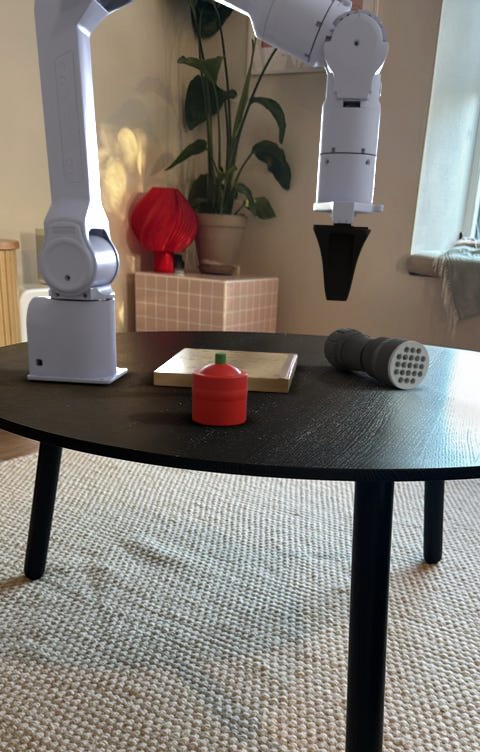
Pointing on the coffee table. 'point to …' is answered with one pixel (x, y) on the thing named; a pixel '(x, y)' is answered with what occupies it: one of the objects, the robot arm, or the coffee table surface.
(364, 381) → the coffee table surface
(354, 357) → the flashlight
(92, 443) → the coffee table surface
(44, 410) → the coffee table surface
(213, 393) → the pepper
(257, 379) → the board
